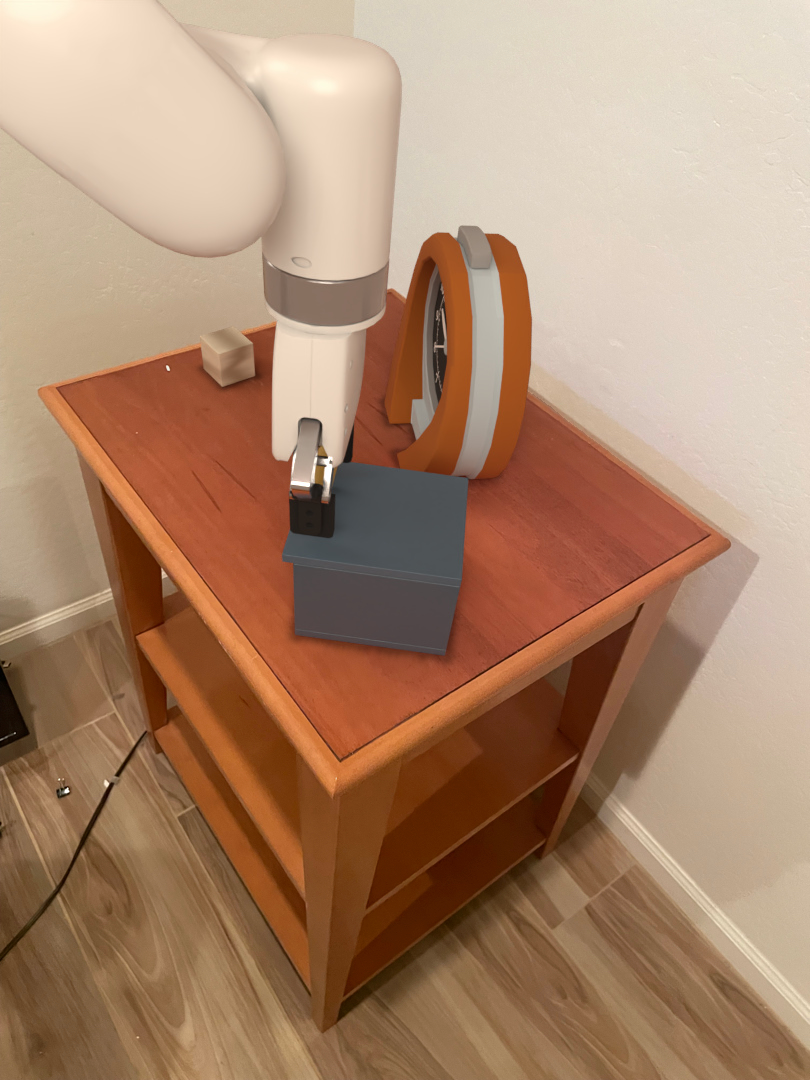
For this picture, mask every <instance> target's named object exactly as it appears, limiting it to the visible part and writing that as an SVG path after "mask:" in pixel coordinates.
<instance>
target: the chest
mask: <svg viewBox="0 0 810 1080" xmlns="http://www.w3.org/2000/svg"><path fill="white" fill-rule="evenodd" d="M292 577H293V579H292V581H293V583H292V584H293V612H294V613H293V614H294V635H295V636H301V637H308V638H315V639H322V640H328V641H335V642H344V643H351V644H358V645H365V646H372V647H378V648H379V647H380V648H387V649H392V650H393V649H394V650H401V651H408V652H416V653H423V654H430V655H437V656H443V657H444V656H446V653H447V648H448V644H449V640H450V635H451V630H452V627H453V622H454V616H455V613H456V607H457V604H458V600H459V595H460V590H461V586H454V585H447V584H440V583H433V582H425V581H418V580H411V579H404V578H396V577H389V576H382V575H375V574H368V573H360V572H353V571H346V570H339V569H332V568H324V567H317V566H310V565H303V564H296V563H292Z"/></svg>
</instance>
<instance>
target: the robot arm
mask: <svg viewBox="0 0 810 1080" xmlns="http://www.w3.org/2000/svg"><path fill="white" fill-rule="evenodd" d="M402 95H403V81H402V74H401V70H400V68H399V66H398V64H397V62H396V60H395V59H394V57H393V56H392V55H391V54H390V52H388V51H387V50H386V49H385V48H383V47H381V46H379V45H377V44H376V43H373V42H371V41H368V40H365V39H362V38H358V37H354V36H349V35H344V34H343V35H342V34H335V33H325V32H323V33H322V32H299V33H291V34H286V35H282V36H278V37H274V38H273V37H272V38H271V37H267V36H266V37H265V36H257V35H250V34H246V33H245V34H243V33H239V32H231V31H226V30H220V29H216V28H212V27H211V28H210V27H206V26H200V25H195V24H190V23H186V22H179V21H178V19H176V18H175V17H174V15H172V14H171V13H170V12H169V10H168V9H167V8H166V7H165V6H164V5H163V4H162V3H161V2H160V0H0V129H1V130H2V131H3V132H4V133H5V134H6V135H8V136H9V137H10V138H12V139H13V140H14V141H15V142H16V143H17V144H19V145H20V146H21V147H23V148H24V149H25V150H26V151H28V152H29V153H30V154H31V155H33V156H34V157H35V158H36V159H38V160H39V161H41V162H42V163H43V164H44V165H45V166H47V167H48V168H49V169H51V170H52V171H53V172H54V173H56V174H57V175H59V176H60V177H61V178H63V179H64V180H66V181H67V182H68V183H70V184H71V185H72V186H74V187H75V188H77V190H79V191H80V192H82V193H83V194H85V195H86V196H87V197H88V198H90V199H91V200H92V201H93V202H95V203H96V204H97V205H99V206H101V207H102V208H103V209H104V210H106V211H107V212H108V213H110V214H111V215H112V216H114V217H115V218H116V219H118V220H119V221H120V222H122V223H123V224H125V225H126V226H127V227H128V228H130V229H132V230H133V231H134V232H136V233H137V234H139V235H140V236H142V237H144V238H145V239H147V240H149V241H151V243H154V244H156V245H157V246H160V247H163V248H165V249H167V250H170V251H172V252H174V253H177V254H180V255H184V256H188V257H193V258H207V259H214V258H220V257H221V258H222V257H227V256H230V255H232V254H236V253H238V252H241V251H244V250H245V249H247V248H249V247H251V246H252V245H253V244H255V243H256V242H257V241H259V239H260V241H261V259H262V260H261V261H262V278H263V279H262V280H263V295H264V307H265V309H266V311H267V312H268V314H269V315H270V316H271V317H272V318H273V319H274V320H275V321H276V324H275V332H274V341H273V352H272V375H271V378H272V379H271V455H272V456H273V458H274V459H275V460H276V461H278V462H281V461H282V462H286V463H287V462H288V461H289V460H290V458H291V457H292V461H291V462H292V463H291V469H290V470H291V472H290V482H289V491H288V508H289V510H288V511H289V530H290V531H291V532H292V533H295V534H302V535H309V536H317V537H324V538H331V537H333V534H334V528H335V495H336V494H332V493H331V491H332V482H333V473H334V468H335V467H337V466H339V465H340V464H341V463H349V462H353V461H352V460H353V456H354V437H355V420H356V415H357V411H358V407H359V402H360V398H361V397H360V396H361V392H362V385H363V379H364V369H365V359H366V345H367V329H368V328H370V327H372V326H375V324H377V323H378V322H379V321H380V320H382V318H384V315H385V313H386V309H387V295H388V284H389V273H390V270H389V269H390V253H391V242H392V241H391V240H392V227H393V217H394V203H395V191H396V179H397V178H396V177H397V165H398V154H399V153H398V152H399V139H400V127H401V116H402V115H401V113H402V103H403V102H402V99H403V98H402V97H403V96H402ZM321 446H323V447H324V450H325V452H326V454H327V456H321V455H318V450H319V448H320V447H321ZM316 466H324V467H325V468H324V477H323V486H322V485H321V484H317V483H315V468H316Z"/></svg>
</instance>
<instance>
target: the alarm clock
mask: <svg viewBox="0 0 810 1080" xmlns="http://www.w3.org/2000/svg"><path fill="white" fill-rule="evenodd" d="M419 249H420V250H419V253H418V255H417V259H416V262H415V264H414V266H413V267H414V268H413V271H412V275H411V279H410V283H409V287H408V291H407V294H406V299H405V302H404V307H403V312H402V315H401V320H400V324H399V329H398V334H397V338H396V343H395V346H394V351H393V354H392V355H393V356H392V359H391V365H390V370H389V375H388V381H387V385H386V392H385V397H384V402H383V404H384V408H385V412H386V415H387V420H388V423H389V424H391V425H394V424H395V425H396V424H398V425H399V424H411V426H412V430H413V433H414V437H415V441H413V443H412V444H410V445H409V446H408V447H407V448H406V449H403V450H402V451H401V450H400V451H399V452H397V454H396V456H397V461H398V464H399V469H406V470H413V471H421V472H428V473H435V474H443V475H450V476H457V477H465V478H468V480H483V479H485V480H486V479H495V478H497V477H499V476H500V475H501V474H502V473H503V472H504V471H505V469H506V468H507V467H508V465H509V463H510V460H511V458H512V456H513V454H514V451H515V449H516V447H517V444H518V440H519V436H520V432H521V427H522V424H523V420H524V416H525V411H526V407H527V399H528V393H529V392H528V391H529V384H530V375H531V367H532V340H533V339H532V338H533V337H532V336H533V335H532V334H533V315H532V308H531V300H530V292H529V283H528V277H527V276H528V275H527V273H526V270H525V267H524V264H523V262H522V259H521V257H520V253H519V251H518V248H517V246H516V244H514V243H513V242H512V241H510V240H509V239H508V238H507V237H506V236H504V235H502V234H500V233H489V232H488V233H484V231H483V230H482V228H480V227H479V226H477V225H464V224H463V225H459V226H458V230H457V236H456V237H454V236H453V235H452V234H451V233H450V232H441V231H438V232H435V233H432V234H431V235H430V236H429V237H428V238H426V240H424V241H423V242H422V244H421V247H420V248H419Z"/></svg>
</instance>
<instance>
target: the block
mask: <svg viewBox="0 0 810 1080" xmlns="http://www.w3.org/2000/svg"><path fill="white" fill-rule="evenodd" d="M199 341H200V350H201V359H202V367H203V370H204V371H205V372H206V373H208V375H209V376H210V377H211V378H212V379H213V380H214V381H215V382H216V383H217V384H218V385H219V386H220V387H221V388H223V387H226V386H230V385H232V384H236V383H238V382H242V381H245V380H247V379H251V378H254V377H256V369H255V368H256V367H255V352H254V351H255V349H254V343H253V342H252V341H251V340H250V339H249V338H248V337H247V336H245V335H244V334H243V333H242V332H241V331H240V330H239V329H237V328H236V327H235V326H229V327H226V328H223V329H219V330H215V331H212V332H209V333H205V334H202V335H199Z"/></svg>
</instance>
